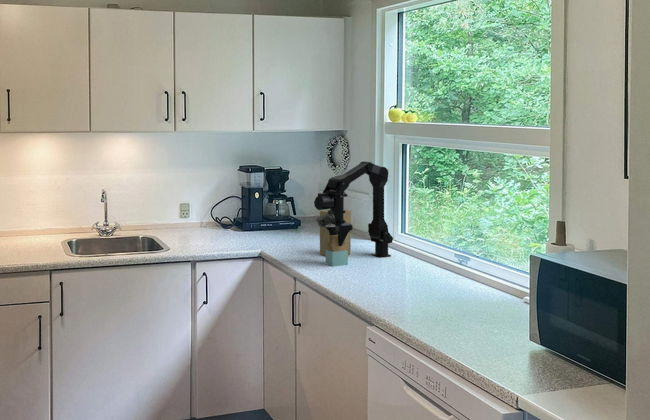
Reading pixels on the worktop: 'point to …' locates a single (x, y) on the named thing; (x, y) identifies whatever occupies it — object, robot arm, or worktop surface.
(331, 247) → the walnut cube
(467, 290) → the worktop surface
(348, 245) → the wooden block
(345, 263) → the teal block
